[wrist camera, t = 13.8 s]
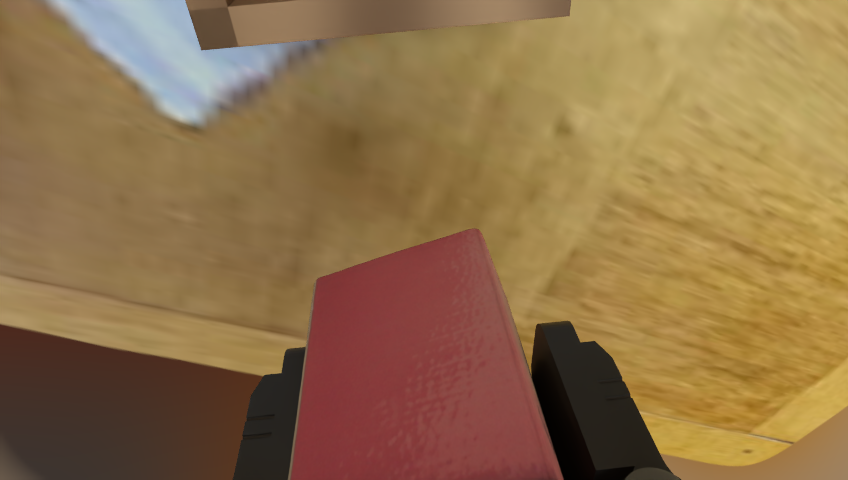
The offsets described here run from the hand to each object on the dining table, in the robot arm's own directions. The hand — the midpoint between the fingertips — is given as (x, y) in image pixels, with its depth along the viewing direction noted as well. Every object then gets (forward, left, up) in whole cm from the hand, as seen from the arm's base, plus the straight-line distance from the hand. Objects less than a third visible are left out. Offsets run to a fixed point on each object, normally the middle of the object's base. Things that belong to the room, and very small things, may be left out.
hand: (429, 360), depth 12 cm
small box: (0, 0, -2) cm, 2 cm away
